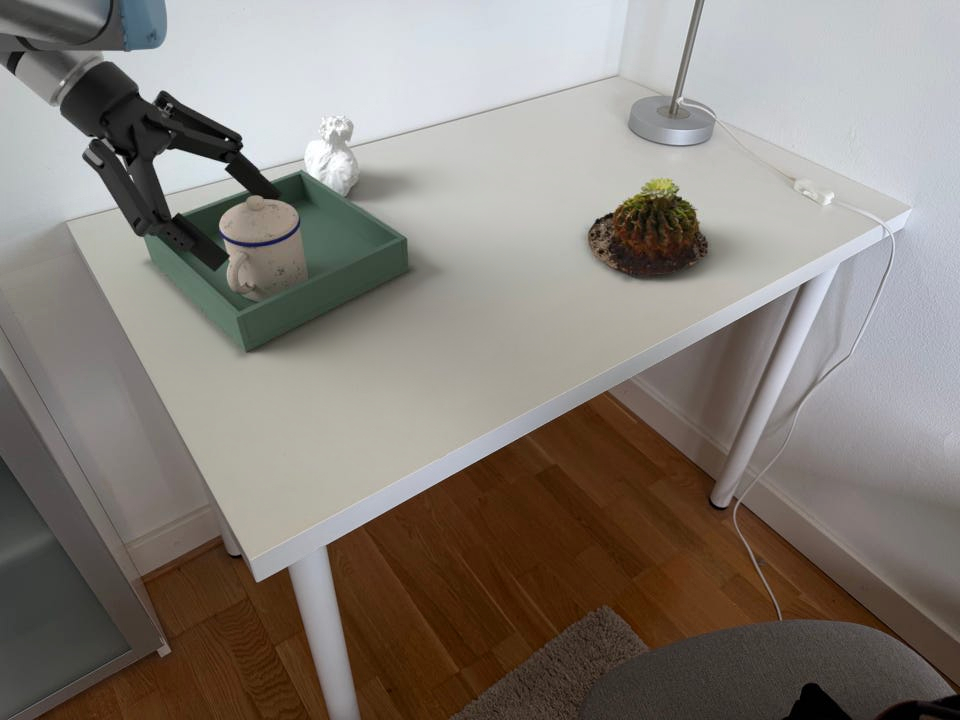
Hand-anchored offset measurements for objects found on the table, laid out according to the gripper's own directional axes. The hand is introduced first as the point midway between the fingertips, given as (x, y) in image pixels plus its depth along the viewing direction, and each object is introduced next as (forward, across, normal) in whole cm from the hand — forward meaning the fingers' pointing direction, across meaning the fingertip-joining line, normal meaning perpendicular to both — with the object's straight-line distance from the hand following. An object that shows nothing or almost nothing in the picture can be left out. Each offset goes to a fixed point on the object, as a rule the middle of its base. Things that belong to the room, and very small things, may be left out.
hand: (250, 230), depth 78 cm
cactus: (+39, -23, +26) cm, 52 cm away
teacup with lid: (+6, 0, -6) cm, 9 cm away
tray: (+6, -6, -7) cm, 11 cm away
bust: (+6, -29, -8) cm, 30 cm away
